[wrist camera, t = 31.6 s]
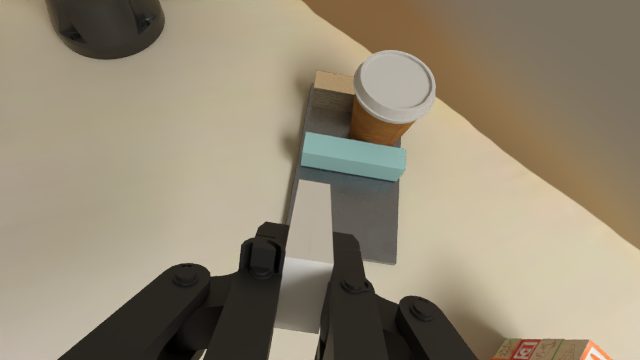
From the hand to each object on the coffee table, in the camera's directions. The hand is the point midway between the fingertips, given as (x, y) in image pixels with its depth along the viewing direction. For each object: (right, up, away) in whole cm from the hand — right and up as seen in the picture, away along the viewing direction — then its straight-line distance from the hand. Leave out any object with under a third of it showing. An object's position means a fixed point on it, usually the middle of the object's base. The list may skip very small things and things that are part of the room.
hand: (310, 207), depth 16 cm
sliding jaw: (+5, +4, +29) cm, 30 cm away
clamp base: (+4, +3, +30) cm, 31 cm away
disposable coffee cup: (+8, +7, +32) cm, 34 cm away
